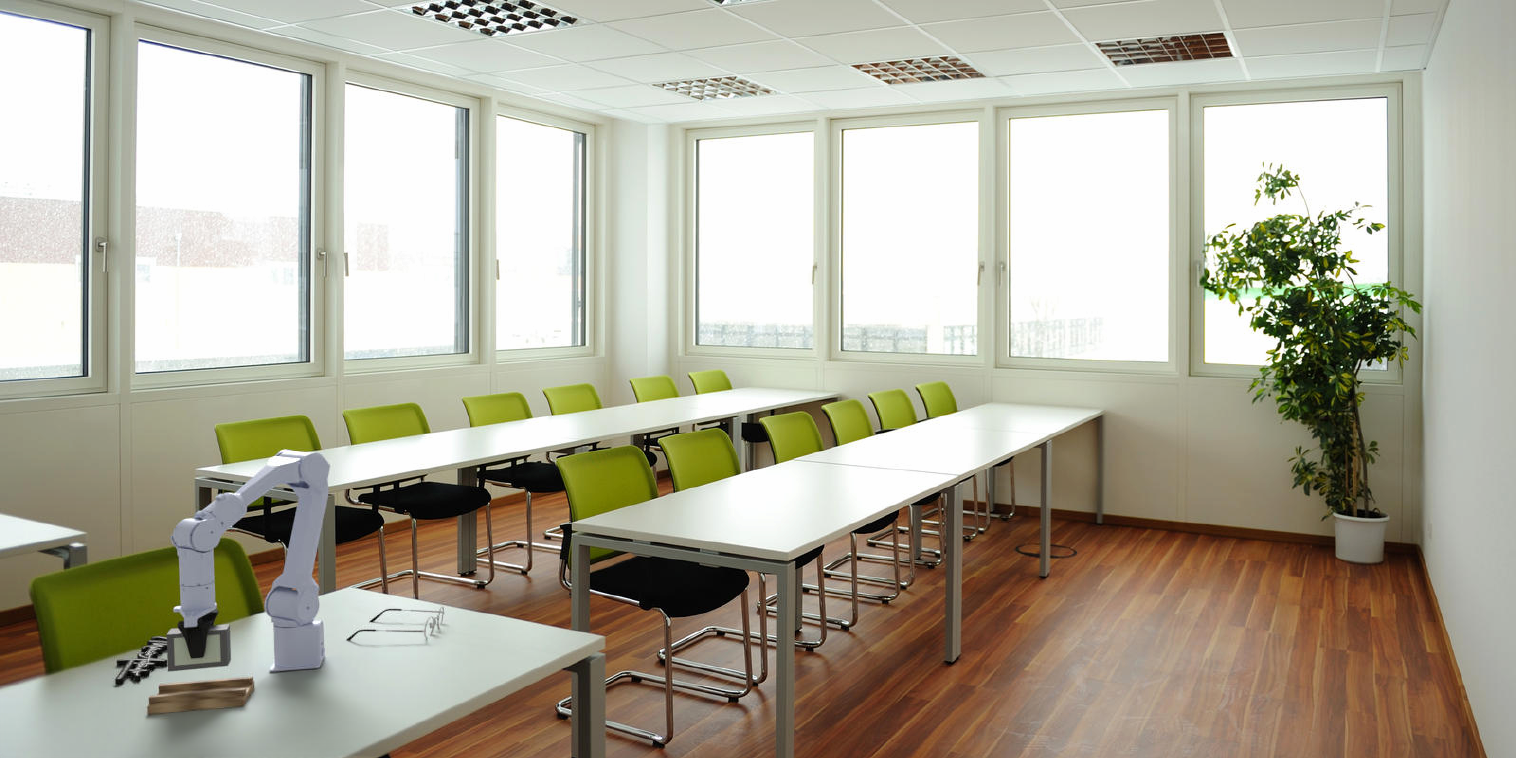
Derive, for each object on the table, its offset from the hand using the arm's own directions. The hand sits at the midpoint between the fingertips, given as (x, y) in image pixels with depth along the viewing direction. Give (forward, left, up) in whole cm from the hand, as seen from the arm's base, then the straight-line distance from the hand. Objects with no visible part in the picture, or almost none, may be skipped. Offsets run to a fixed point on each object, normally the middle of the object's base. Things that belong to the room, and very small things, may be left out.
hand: (199, 653), depth 195 cm
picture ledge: (-1, +2, -8) cm, 9 cm away
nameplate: (+16, -25, -9) cm, 32 cm away
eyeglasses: (-33, -33, -9) cm, 48 cm away
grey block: (0, 0, -2) cm, 2 cm away
